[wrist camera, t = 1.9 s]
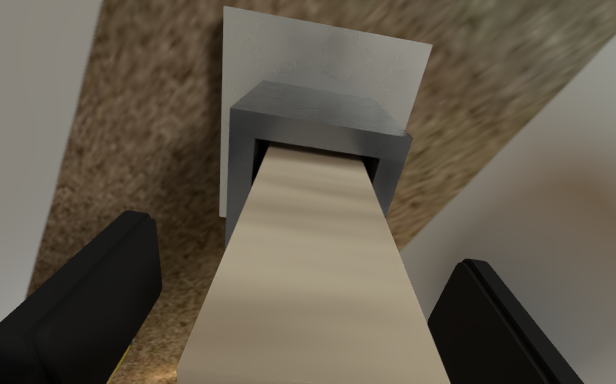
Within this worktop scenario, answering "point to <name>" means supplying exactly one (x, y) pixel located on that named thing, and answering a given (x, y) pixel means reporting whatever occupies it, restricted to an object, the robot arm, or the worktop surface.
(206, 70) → the worktop surface
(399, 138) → the stand base
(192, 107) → the worktop surface
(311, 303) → the column
